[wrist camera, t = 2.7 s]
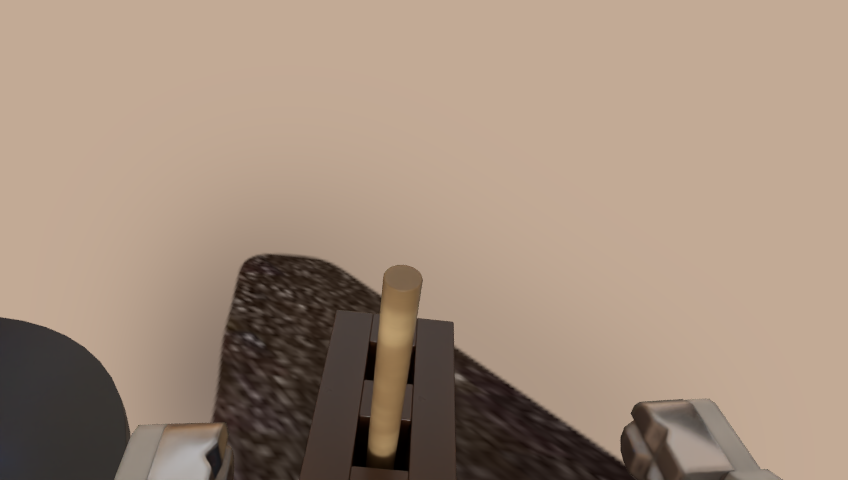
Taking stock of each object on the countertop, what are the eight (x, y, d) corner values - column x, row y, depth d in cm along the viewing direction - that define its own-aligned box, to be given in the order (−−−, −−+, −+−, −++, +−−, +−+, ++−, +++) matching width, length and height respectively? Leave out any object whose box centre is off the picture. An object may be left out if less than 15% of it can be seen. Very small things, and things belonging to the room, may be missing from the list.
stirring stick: (359, 524, 33) (381, 288, 21) (362, 498, 35) (385, 262, 22) (385, 526, 33) (422, 292, 21) (387, 501, 35) (423, 266, 22)
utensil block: (296, 577, 31) (292, 509, 26) (335, 383, 41) (336, 309, 36) (435, 588, 31) (457, 524, 26) (438, 393, 42) (453, 321, 37)
